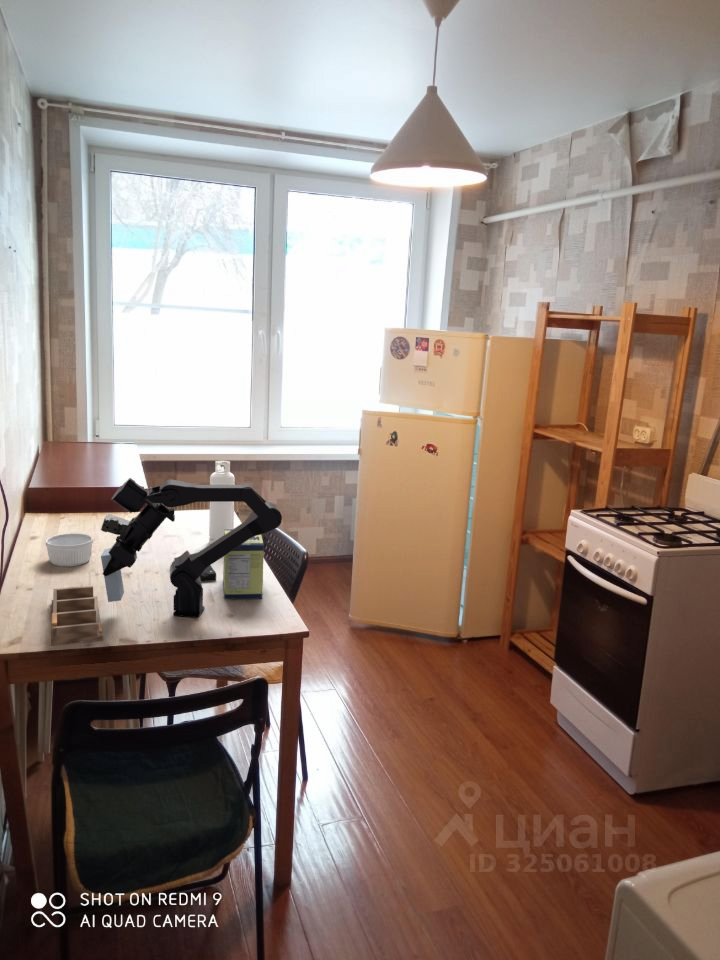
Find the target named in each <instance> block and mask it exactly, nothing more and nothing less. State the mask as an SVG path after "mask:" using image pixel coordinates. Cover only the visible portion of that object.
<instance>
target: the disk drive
mask: <svg viewBox="0 0 720 960" xmlns="http://www.w3.org/2000/svg"><path fill="white" fill-rule="evenodd" d="M173 562H174V559H173V561H172V562H171V564H172V563H173ZM200 579H201V583H203V582H210V581H211V582H212V581H217V572H216V571H215V570H214V568H213V567H212V566H211V565H210V566H208V567H207V568H206V569H205V570H204V571H203V573H202V574H201V575H200Z"/></svg>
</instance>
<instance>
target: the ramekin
mask: <svg viewBox="0 0 720 960" xmlns="http://www.w3.org/2000/svg"><path fill="white" fill-rule="evenodd" d="M93 538H94V537H93V536H91V535H90V534H87V533H80V532H79V533H78V532H74V533H73V532H69V533H61V534H55V535H52V536H50V537H48V538H47V539H46V540H45V546H46V549H47V556H48V561H50V563H51V564H53V565H54V566H56V567H75V566H81V565H84V564H87V563H88V561H90V559H91V557H92V551H93V550H92V549H93V543H94V539H93Z"/></svg>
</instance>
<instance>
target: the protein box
mask: <svg viewBox="0 0 720 960" xmlns="http://www.w3.org/2000/svg"><path fill="white" fill-rule="evenodd" d="M230 531H231V530H226V529H224V535H225V534H227V533H228V532H230ZM264 549H265V545H264V541H263V536H262V534H261V535H257V536H254V537H252V538H250V539H249V540H247V541H246V542H244V543H243V544H241V545H240V546H238V547H237V548H235V549H234V550H232V551H231V552H229V553H228V554H226V555H225V556H223V569H222V570H223V571H222V574H223V580H222V581H223V597H224V600H244V599H245V600H246V599H247V600H248V599H250V600H251V599H263V585H264V553H265V550H264Z"/></svg>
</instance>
